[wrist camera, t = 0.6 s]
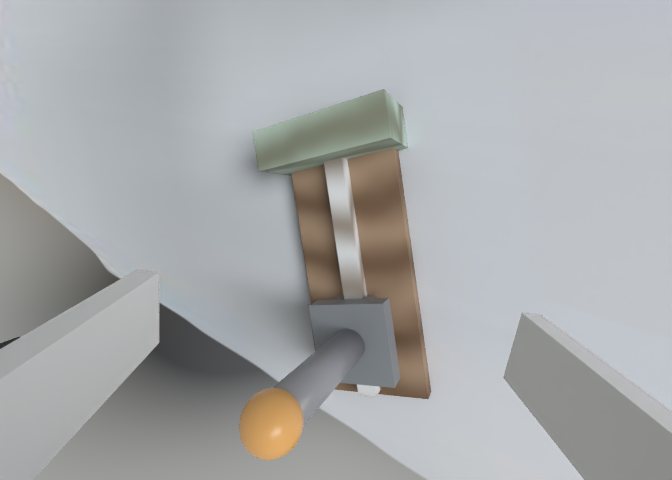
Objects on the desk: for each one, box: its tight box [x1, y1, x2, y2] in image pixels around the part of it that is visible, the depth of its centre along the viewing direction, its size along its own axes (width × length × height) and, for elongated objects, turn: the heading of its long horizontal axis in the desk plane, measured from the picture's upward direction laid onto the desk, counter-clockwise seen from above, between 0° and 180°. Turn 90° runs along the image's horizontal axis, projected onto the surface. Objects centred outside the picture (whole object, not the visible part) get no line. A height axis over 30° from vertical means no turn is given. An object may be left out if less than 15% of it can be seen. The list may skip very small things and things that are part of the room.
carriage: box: [239, 296, 400, 460], centre depth 27 cm, size 8×8×18 cm
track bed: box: [253, 89, 431, 399], centre depth 34 cm, size 30×14×6 cm, turn 9°
